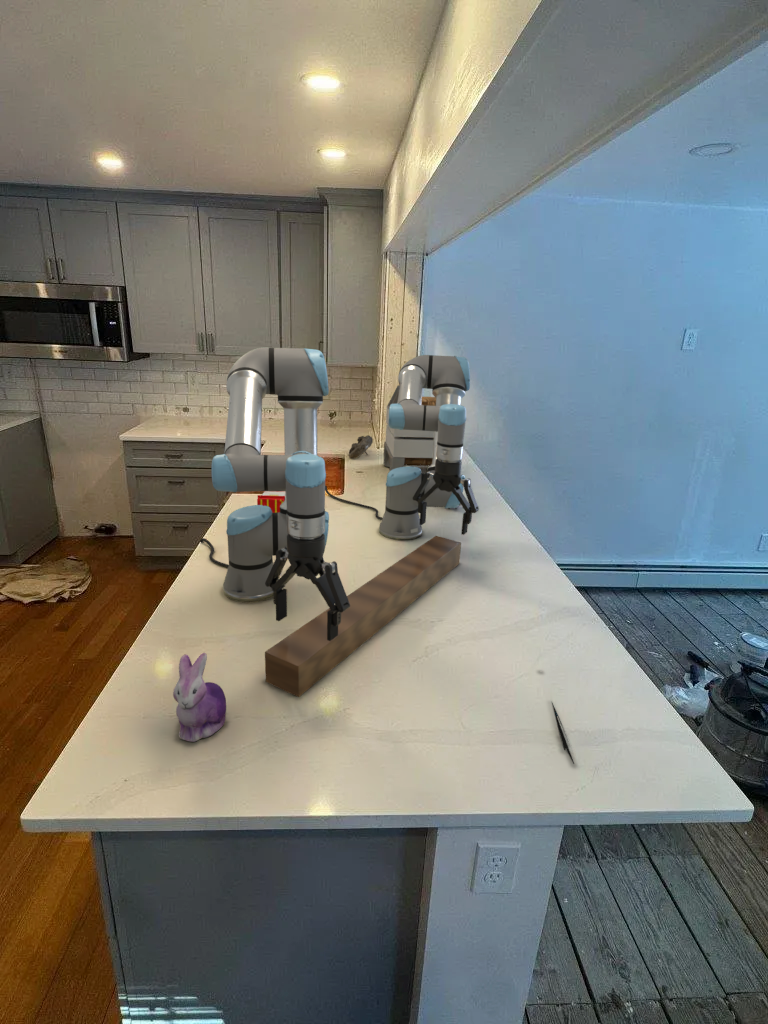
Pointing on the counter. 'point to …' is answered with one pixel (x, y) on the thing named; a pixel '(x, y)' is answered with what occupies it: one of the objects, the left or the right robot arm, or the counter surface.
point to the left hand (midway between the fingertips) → (306, 627)
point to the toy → (272, 500)
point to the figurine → (198, 701)
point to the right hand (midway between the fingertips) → (442, 528)
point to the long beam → (358, 617)
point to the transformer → (408, 441)
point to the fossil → (360, 446)
